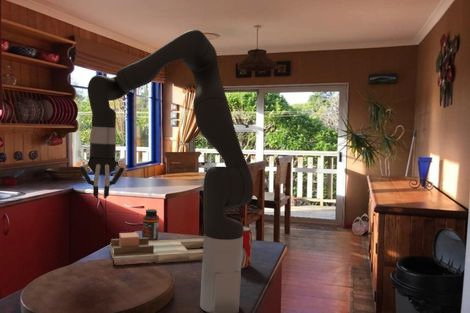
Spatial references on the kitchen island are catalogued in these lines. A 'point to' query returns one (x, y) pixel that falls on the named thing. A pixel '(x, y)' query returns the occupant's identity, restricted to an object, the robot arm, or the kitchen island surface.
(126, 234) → the block
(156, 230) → the supplement bottle
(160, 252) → the wooden fixture board
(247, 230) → the soda can
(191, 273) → the kitchen island surface
